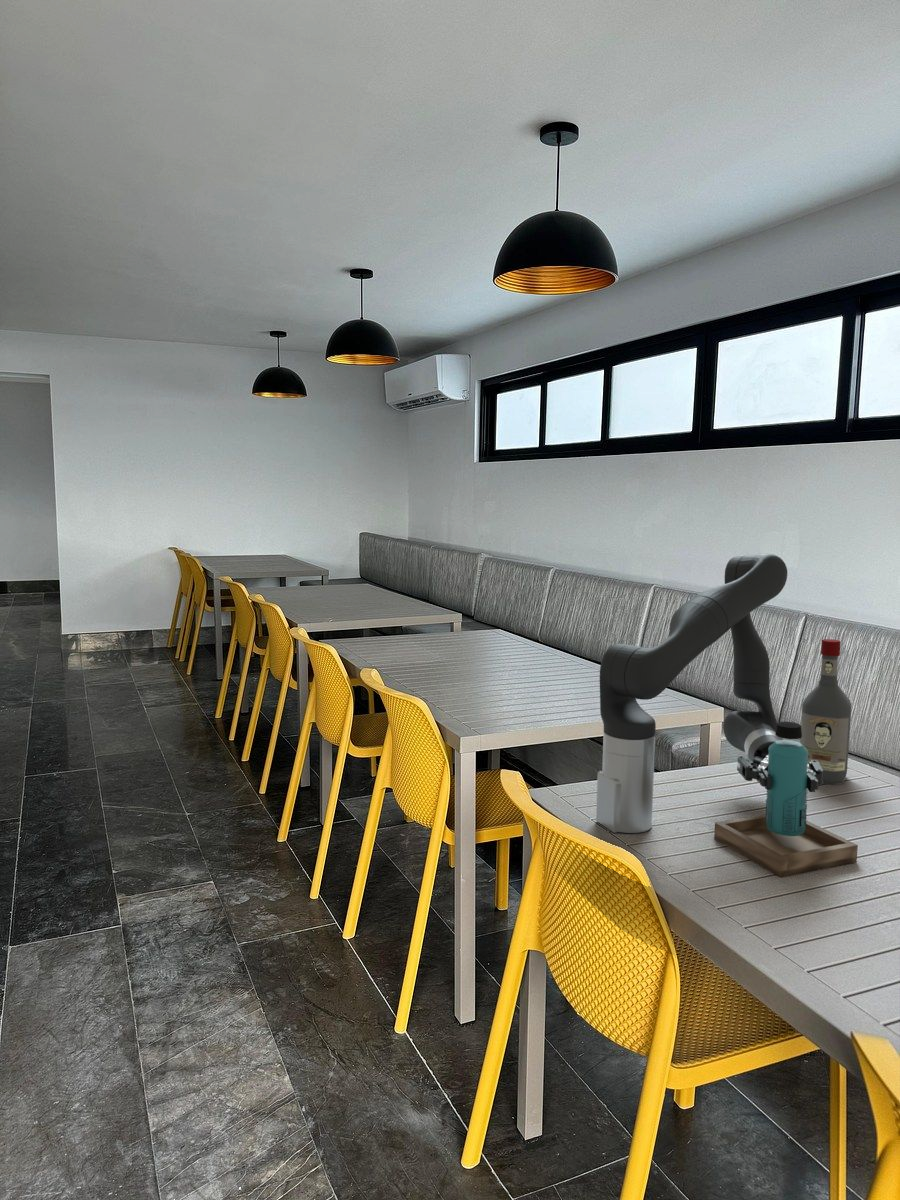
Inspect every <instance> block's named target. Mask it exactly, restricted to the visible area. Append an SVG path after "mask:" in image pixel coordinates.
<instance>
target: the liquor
mask: <svg viewBox="0 0 900 1200" xmlns="http://www.w3.org/2000/svg"><path fill="white" fill-rule="evenodd" d="M841 642H842V641H841V640H839V639H834V638H833V639H832V638H825V639H821V645H820V646H821V647H820V654H821V666H820V667H821V669H820V678H819V681H818V684H817V685H816V686H815V687H814V688H813V689H812V690H811V691H810V692H809V693H808V694H807V695H806V697H805V698H804V700H803V702H802V704H801V705H802V706H801V722H800V725H801V728H802V738H800V739H799V743H801V744H802V745H803V746H804V747H805V748H806V749H807V750H808V761H807V764H809V762H811V760H816V761H818V762H819V764H820V766H821V767H822V769H823V777H822V784H828V785H840V784H843V782H844V781H845V780H846V777H847V775H848V774H847V773H848V762H849V750H850V749H849V748H850V747H849V746H850V733H851V732H850V731H851V720H852V719H851V718H852V717H851V716H852V703H851V702H852V701H851V699H850V698H849V697H848V695H847V694H846V693H845V692H844V691H843V690H842V688H841V687H840V686H839V681H838V661H839V657H840V656H841Z"/></svg>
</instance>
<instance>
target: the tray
mask: <svg viewBox="0 0 900 1200" xmlns="http://www.w3.org/2000/svg"><path fill="white" fill-rule="evenodd" d="M765 815H766V813H765V814H756V815H753V816H747V817H746V816H745V817H740V818H734V819H728V820H721V821H715V822H714V834H713V838H714V840H715V841H718V842H719V843H721V844H722V845H724V846H725V847H728V848H729V849H730V850H733V851H735V852H736V853H738V854H739V853H740V854H739V855H741V856H743V857H745V858H747V859H748V860H749V861H752V862H753V863H754V864H756V865H758V866H759V867H762V868H763V869H765V870H767V871H769V872H770V873H772V874H774V875H775V876H777V877H778V878H785V877H789V876H790V877H791V876H795V875H800V874H804V873H810V872H815V871H819V870H820V871H821V870H825V869H830V868H835V867H840V866H845V865H850V864H855V863H857V862H858V848H859V845H858V844H857V843H854V842H852V841H850V840H849V839H846V838H844V837H842V836H840V835H837V834H836V833H834V832H832V831H830V830H827V829H825V828H823V827H821V826H819V825H817V824H815V823H813V822H811V821H809V820H807V823H806V824H805V831H804V833H803V834H802V835H799V836H784V835H779V834H776V833H774V832H772V831H770V830H769V829H768V828H767V825H766V819H765V818H766V816H765Z"/></svg>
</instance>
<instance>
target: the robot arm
mask: <svg viewBox="0 0 900 1200" xmlns="http://www.w3.org/2000/svg"><path fill="white" fill-rule="evenodd" d="M725 565H726V566H725V569H724V584H721V585H717V586H715V587H712V588H709V589H707V590H704V591H702V592H700V593H698V594H696V595H694V596H693V597H691V598H690V599H689V600H687V601H686V602H684V603H683V604H682V605H680V606H679V607H678V608H677V609H676V610H675V611H674V613H673V615H672V616H671V619H670V623H669V635H668V637H667V638H666V639H664V641H662V642H661V643H659V644H657V645H656V646H652V647H645V646H644V647H643V646H637V645H633V644H626V643H614V644H612V645H611V646H609V647H608V648H607V649H606V651H605V652H604V654H603V656H602V658H601V663H600V668H599V709H600V711H599V712H600V718H601V720H602V724H603V740H602V741H603V743H602V766H601V767H602V769H601V770H599V771H597V778H596V779H597V780H596V781H597V783H596V788H597V789H596V809H595V810H596V813H595V814H596V815H595V816H596V817H595V820H596V822H597V823H599V824H601V825H602V826H603V827H605V828H606V829H608V830H609V831H610V832H612V833H626V834H639V833H644V832H647V831H649V830H650V829H651V828H652V826H653V804H654V801H653V799H654V775H655V772H654V771H655V753H656V752H655V751H656V730H657V729H656V727H657V726H656V720H655V718H654V717H653V716H652V715H651V714H649V713H648V712H647V711H645V710H644V708H642V707H641V706H640V705H639V703H638V701H637V700H642V701H644V700H645V701H648V700H652V699H654V698H656V697H658V696H659V695H660V694H661V693H662V692H664V691H665V690H666V689H667V687H669V685H671V684H672V682H673V681H674V680H675V679H676V678H677V677H678V676H679V675H680V674H681V673H682V671H683V670H684V669H685V668H686V667H687V666H688V665H689V664H690V663H691V662H693V661H694V660H695V659H696V658H697V657H698V656H699V655H700V654H702V653H703V651H705V650H706V649H708V647H710V646H712V645H713V644H714V643H715V642H717V641H718V640H719V639H720V638H721V637H722V636H724V635H725V634H726V633H727V632H728V631H729V630H730V631H731V639H732V648H733V687H732V688H733V694H734V696H735V697H736V698H739V699H741V700H744V701H750V702H752V703H754V704H755V705H756V706H757V709H758V711H751V710H750V711H747V710H734V711H731V712H730V713H728V714H727V715H726V716H725V717H724V720H723V725H722V731H723V735H724V737H725V739H726V740H727V742H728V743H729V744H730V745H731V746H732V747H734V748H735V749H737V750H739V751H741V752H744V754H745V756H746V757H744V756H742V755H741V756H739V755H738V757H737V763H736V765H737V767H736V770H737V772H738V773H739V775H741V777H742V778H743V780H745V781H747V782H752V781H753V780H756V783H759V785H760V786H761V787H763V788H765V790H767V789H769V790H771V776H770V775H769V773H768V758H769V750H768V748H769V746H770V745H772V744H773V743H774V742H776V741H778V740H785V738H780V737H778V736H776V735H775V732H776V726H777V723H778V721H777V719H776V715H775V711H774V709H773V703H772V699H771V691H770V679H771V678H770V676H771V675H770V669H771V668H770V667H771V665H770V657H769V654H768V651H767V648H766V646H765V644H764V642H763V640H762V639H761V636H760V634H759V633H758V631H757V629H756V627H755V624H754V622H753V619H752V616H751V612H753V611H754V610H756V609H757V608H759V607H761V606H762V605H764V604H765V603H767V602H770V600H773V599H774V598H775V597H777V596H778V595H779V594H780V593H781V592H782V590H783V589H784V587H785V585H786V583H787V579H788V566H787V565H786V563H785V561H784V560H783V559H782V558H781V557H780V556H779V555H775V554H773V553H756V554H755V553H754V554H742V555H736V556H733V557H731V558H730V559H729V560H728V562H727V563H726V564H725ZM822 777H823V769H822V767H821V766H820V764H819V762H818V761H816V760H811V762H809V764H807V783H808V784H807V790H808V792H810V793H815V792H816V790H818V789H819V785H820V786H822V785H823V783H822Z"/></svg>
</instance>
